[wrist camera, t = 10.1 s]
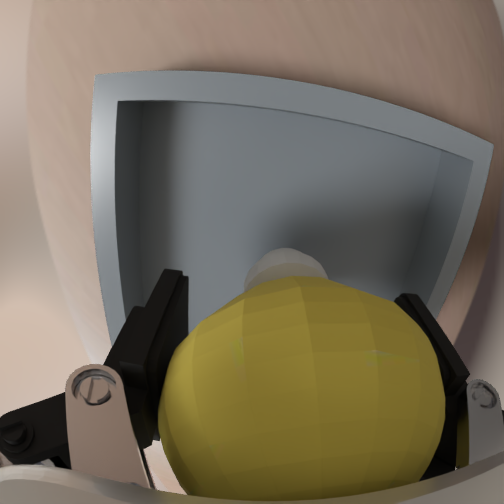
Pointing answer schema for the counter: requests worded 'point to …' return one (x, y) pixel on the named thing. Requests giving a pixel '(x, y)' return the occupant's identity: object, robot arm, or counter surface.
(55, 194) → the counter surface
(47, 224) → the counter surface
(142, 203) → the tray
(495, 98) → the counter surface
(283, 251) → the light bulb
